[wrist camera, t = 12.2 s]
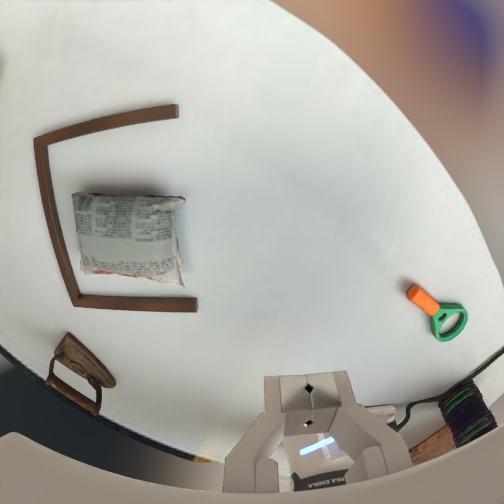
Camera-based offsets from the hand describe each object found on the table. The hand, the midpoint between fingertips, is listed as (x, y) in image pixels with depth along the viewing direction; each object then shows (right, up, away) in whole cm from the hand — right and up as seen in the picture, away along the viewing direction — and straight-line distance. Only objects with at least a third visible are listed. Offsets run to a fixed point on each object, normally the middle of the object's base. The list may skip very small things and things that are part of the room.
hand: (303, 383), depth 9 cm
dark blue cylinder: (+42, -26, +33) cm, 60 cm away
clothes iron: (-27, -12, +26) cm, 39 cm away
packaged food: (-14, +7, +16) cm, 22 cm away
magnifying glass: (+23, -3, +21) cm, 32 cm away
